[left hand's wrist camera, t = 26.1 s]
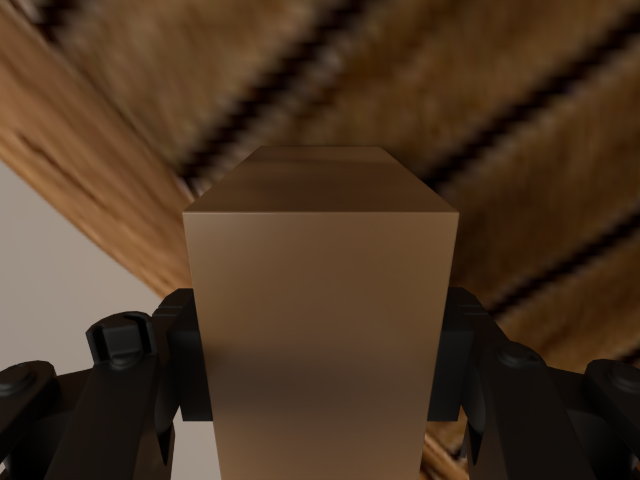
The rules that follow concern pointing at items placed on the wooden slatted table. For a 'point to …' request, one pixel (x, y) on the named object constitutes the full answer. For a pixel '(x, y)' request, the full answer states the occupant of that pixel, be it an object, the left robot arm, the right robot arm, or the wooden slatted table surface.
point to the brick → (320, 311)
